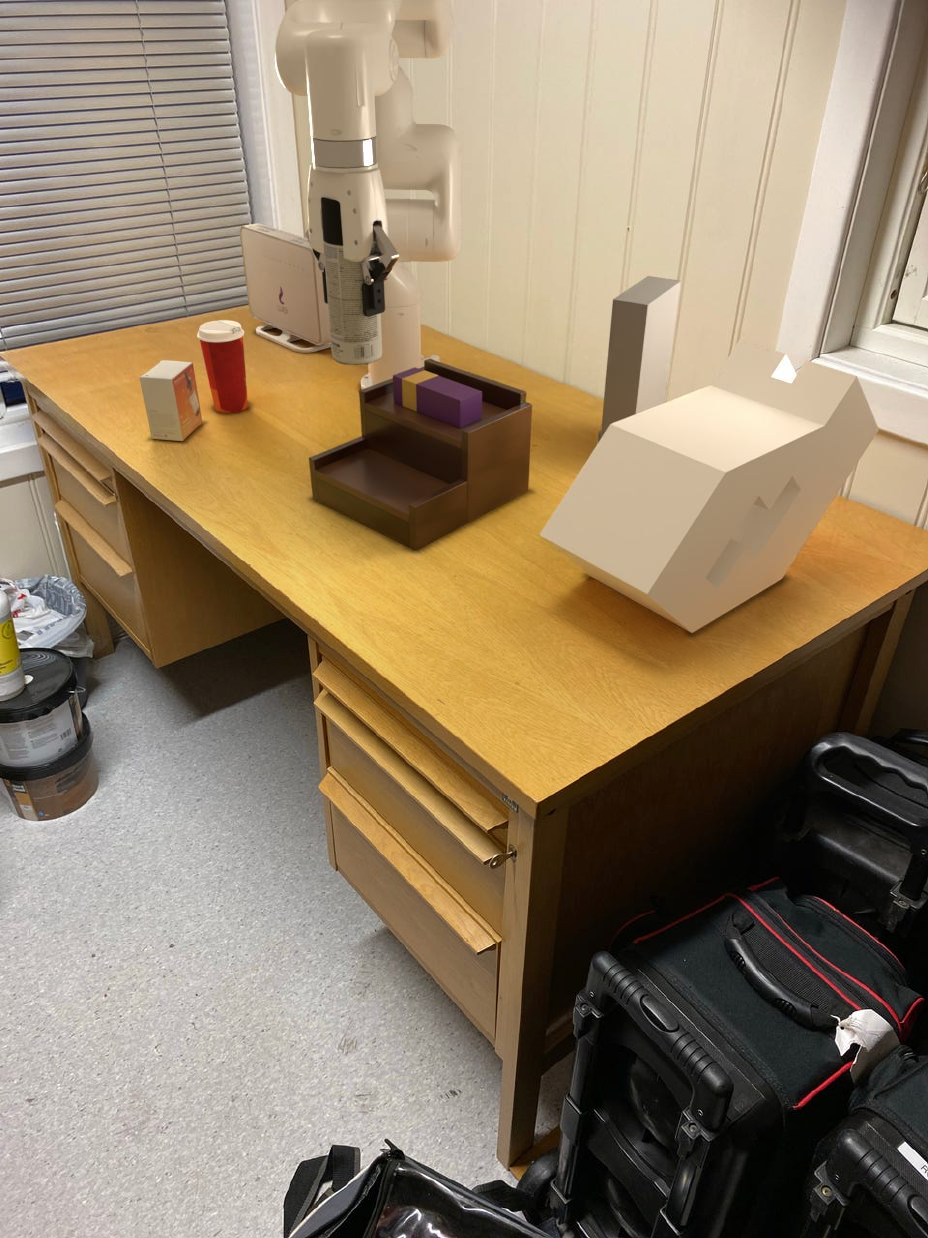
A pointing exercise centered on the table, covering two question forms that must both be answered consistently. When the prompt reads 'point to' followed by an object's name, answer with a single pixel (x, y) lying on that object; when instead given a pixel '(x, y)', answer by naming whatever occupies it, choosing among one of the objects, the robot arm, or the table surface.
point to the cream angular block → (715, 485)
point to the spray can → (347, 297)
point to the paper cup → (225, 364)
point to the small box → (171, 400)
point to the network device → (285, 287)
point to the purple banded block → (437, 397)
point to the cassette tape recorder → (639, 348)
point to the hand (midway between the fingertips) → (354, 306)
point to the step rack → (427, 462)
